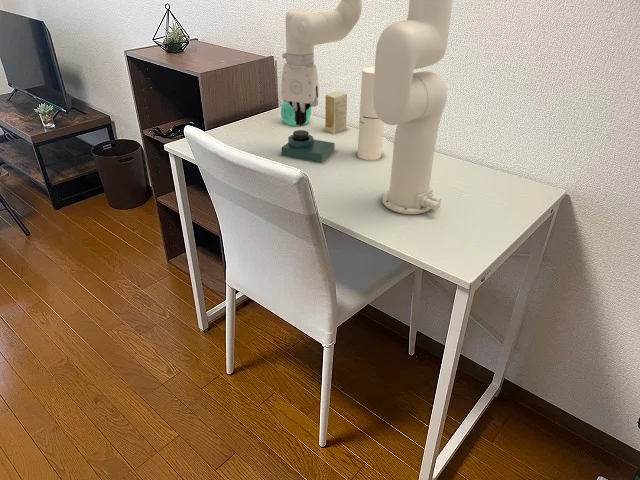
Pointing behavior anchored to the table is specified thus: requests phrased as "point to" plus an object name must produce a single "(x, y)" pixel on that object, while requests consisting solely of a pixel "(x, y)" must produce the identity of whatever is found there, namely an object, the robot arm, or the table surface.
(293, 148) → the base
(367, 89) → the cylindrical container
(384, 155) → the table surface
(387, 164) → the table surface
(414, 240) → the table surface
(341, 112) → the cosmetic box
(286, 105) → the decorative dice
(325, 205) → the table surface
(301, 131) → the button
